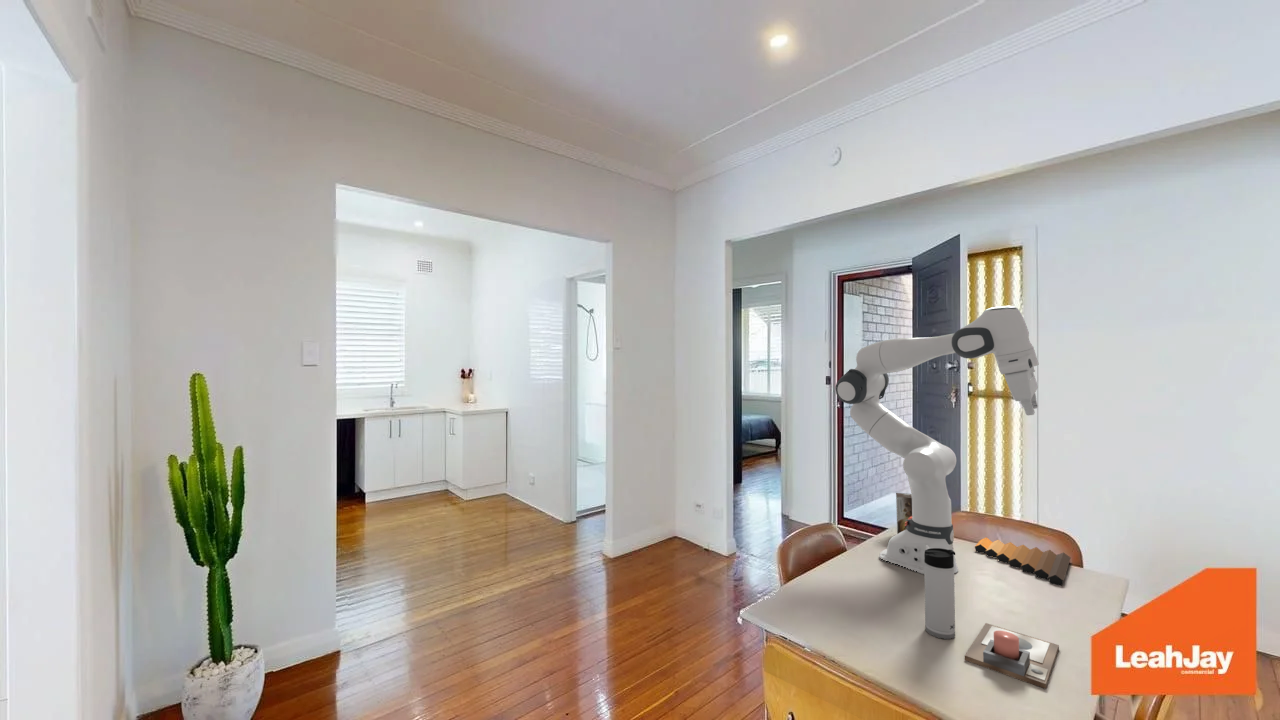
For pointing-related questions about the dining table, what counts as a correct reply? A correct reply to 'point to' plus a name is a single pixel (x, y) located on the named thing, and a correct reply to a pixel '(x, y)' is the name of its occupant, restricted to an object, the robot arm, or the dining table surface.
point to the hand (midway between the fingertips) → (1032, 411)
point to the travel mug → (939, 592)
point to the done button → (1006, 644)
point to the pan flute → (1028, 559)
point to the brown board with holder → (1029, 667)
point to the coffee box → (903, 510)
